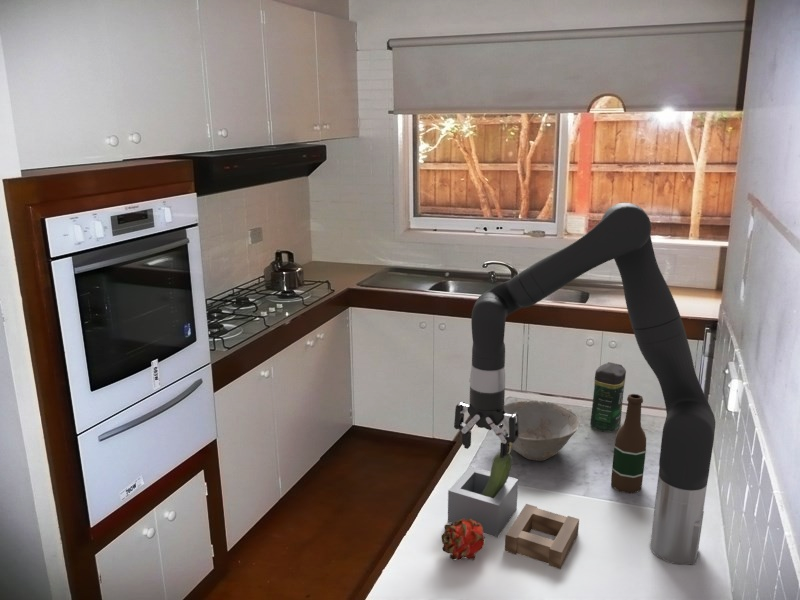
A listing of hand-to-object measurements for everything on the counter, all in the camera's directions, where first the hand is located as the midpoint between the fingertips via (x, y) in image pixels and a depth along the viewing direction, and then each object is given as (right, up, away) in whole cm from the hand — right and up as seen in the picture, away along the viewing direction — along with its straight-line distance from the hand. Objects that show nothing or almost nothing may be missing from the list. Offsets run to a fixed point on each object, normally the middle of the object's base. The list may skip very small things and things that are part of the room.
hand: (485, 451), depth 150 cm
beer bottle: (+37, -12, +17) cm, 42 cm away
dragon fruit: (-6, -20, -8) cm, 22 cm away
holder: (0, -16, +5) cm, 16 cm away
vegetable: (0, -16, +5) cm, 17 cm away
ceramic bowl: (+18, -8, +33) cm, 38 cm away
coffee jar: (+41, -3, +47) cm, 63 cm away
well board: (+12, -18, -5) cm, 22 cm away
